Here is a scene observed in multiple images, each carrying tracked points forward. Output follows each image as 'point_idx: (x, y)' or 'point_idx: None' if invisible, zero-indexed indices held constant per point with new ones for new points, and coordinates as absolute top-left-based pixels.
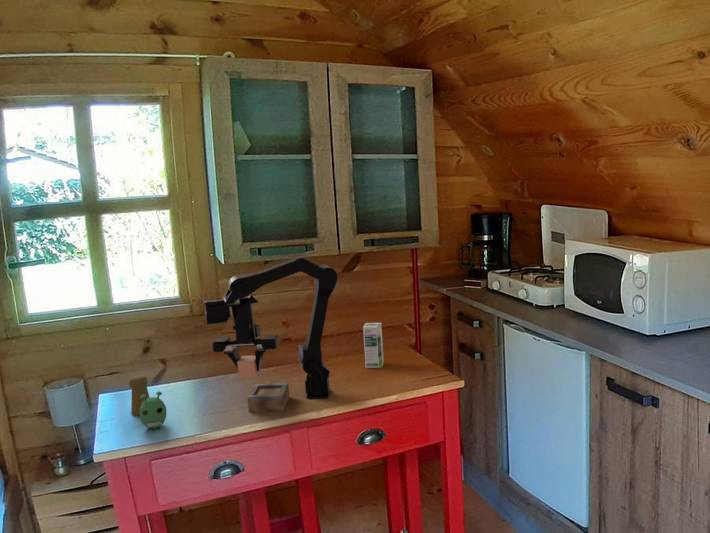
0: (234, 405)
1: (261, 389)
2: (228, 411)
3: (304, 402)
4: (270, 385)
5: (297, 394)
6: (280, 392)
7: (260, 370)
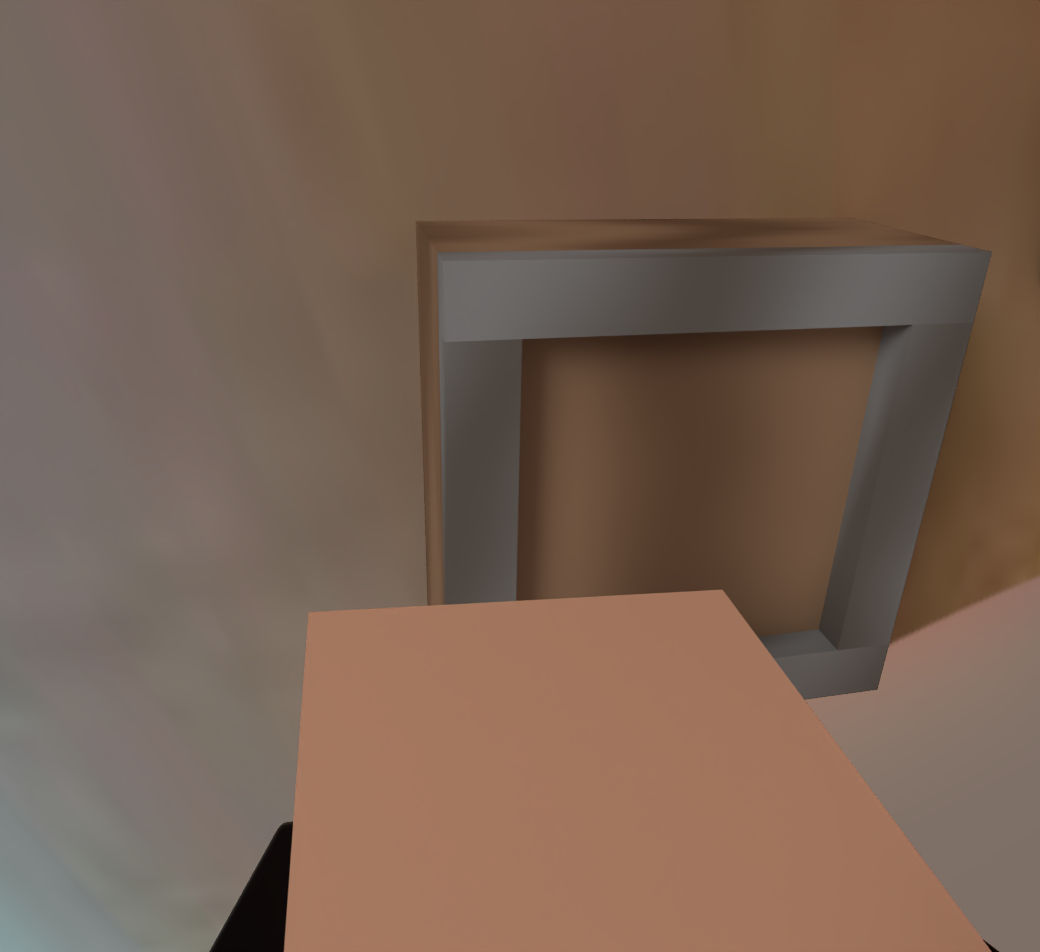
0: (168, 461)
1: (566, 387)
2: (170, 625)
3: (995, 386)
4: (718, 331)
5: (950, 123)
6: (866, 598)
7: (730, 604)
